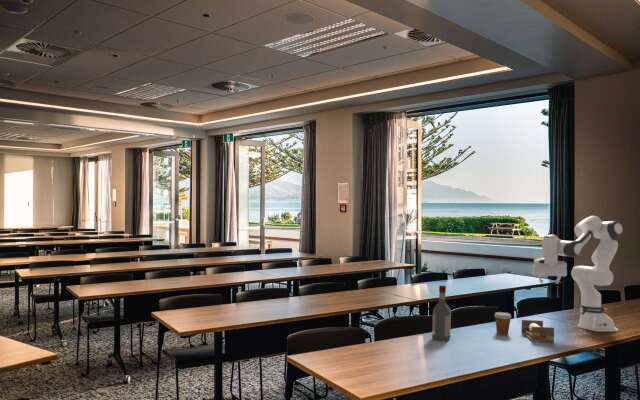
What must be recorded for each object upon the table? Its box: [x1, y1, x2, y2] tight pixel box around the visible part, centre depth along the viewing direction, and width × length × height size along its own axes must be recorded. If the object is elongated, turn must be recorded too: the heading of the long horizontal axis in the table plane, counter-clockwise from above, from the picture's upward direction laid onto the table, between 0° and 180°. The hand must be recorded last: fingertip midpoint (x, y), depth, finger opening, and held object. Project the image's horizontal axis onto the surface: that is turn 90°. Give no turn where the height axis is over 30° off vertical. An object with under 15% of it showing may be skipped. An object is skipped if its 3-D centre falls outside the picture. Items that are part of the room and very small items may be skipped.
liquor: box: [431, 285, 452, 342], centre depth 279 cm, size 9×9×30 cm
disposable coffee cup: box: [494, 311, 512, 336], centre depth 294 cm, size 10×10×12 cm
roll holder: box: [521, 319, 555, 344], centre depth 286 cm, size 20×12×8 cm, turn 176°
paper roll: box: [528, 323, 540, 332], centre depth 286 cm, size 13×6×6 cm, turn 175°
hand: (549, 283), depth 306 cm, fingers open, 8 cm apart
